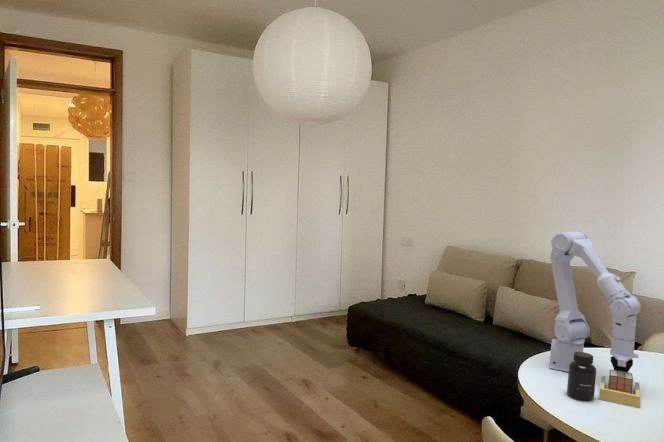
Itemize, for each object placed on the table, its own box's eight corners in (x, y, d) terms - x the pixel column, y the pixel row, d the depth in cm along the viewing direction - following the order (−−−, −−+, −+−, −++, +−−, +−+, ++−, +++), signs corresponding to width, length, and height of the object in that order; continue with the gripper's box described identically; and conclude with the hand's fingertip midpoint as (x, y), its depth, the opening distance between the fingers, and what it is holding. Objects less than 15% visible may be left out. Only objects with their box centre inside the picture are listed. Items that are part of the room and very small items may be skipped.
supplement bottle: (583, 403, 133) (586, 360, 132) (561, 393, 139) (564, 352, 138) (599, 399, 136) (602, 356, 136) (577, 389, 142) (580, 349, 142)
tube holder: (599, 399, 136) (599, 388, 136) (601, 383, 147) (601, 373, 147) (639, 408, 131) (640, 397, 131) (638, 391, 142) (639, 381, 142)
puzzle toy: (630, 392, 142) (632, 372, 141) (631, 399, 137) (633, 379, 136) (608, 387, 144) (609, 368, 144) (608, 394, 139) (609, 375, 139)
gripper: (640, 347, 135) (636, 395, 136) (638, 333, 147) (635, 378, 148) (610, 342, 138) (607, 389, 140) (611, 329, 151) (608, 373, 152)
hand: (620, 383), depth 144 cm, fingers closed
